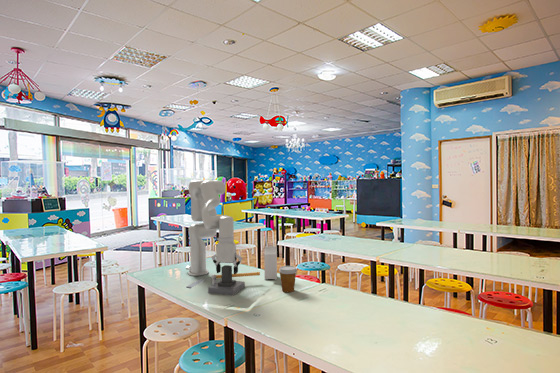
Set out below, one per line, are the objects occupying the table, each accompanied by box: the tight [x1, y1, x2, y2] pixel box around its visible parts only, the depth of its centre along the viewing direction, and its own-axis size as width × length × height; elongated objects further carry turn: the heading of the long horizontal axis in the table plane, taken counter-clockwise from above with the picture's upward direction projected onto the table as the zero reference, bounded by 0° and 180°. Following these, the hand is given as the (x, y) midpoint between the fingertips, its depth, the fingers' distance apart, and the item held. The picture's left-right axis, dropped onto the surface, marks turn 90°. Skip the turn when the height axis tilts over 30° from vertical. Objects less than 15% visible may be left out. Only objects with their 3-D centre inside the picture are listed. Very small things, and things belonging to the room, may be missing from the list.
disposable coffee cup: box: [278, 265, 298, 293], centre depth 170 cm, size 10×10×12 cm
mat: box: [186, 278, 206, 289], centre depth 182 cm, size 14×14×1 cm
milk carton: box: [263, 245, 278, 281], centre depth 193 cm, size 7×7×19 cm
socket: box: [207, 278, 246, 296], centre depth 169 cm, size 17×14×6 cm
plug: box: [218, 264, 237, 287], centre depth 169 cm, size 7×7×12 cm
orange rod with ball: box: [211, 271, 261, 280], centre depth 177 cm, size 26×3×2 cm, turn 103°
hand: (227, 273), depth 168 cm, fingers open, 9 cm apart
